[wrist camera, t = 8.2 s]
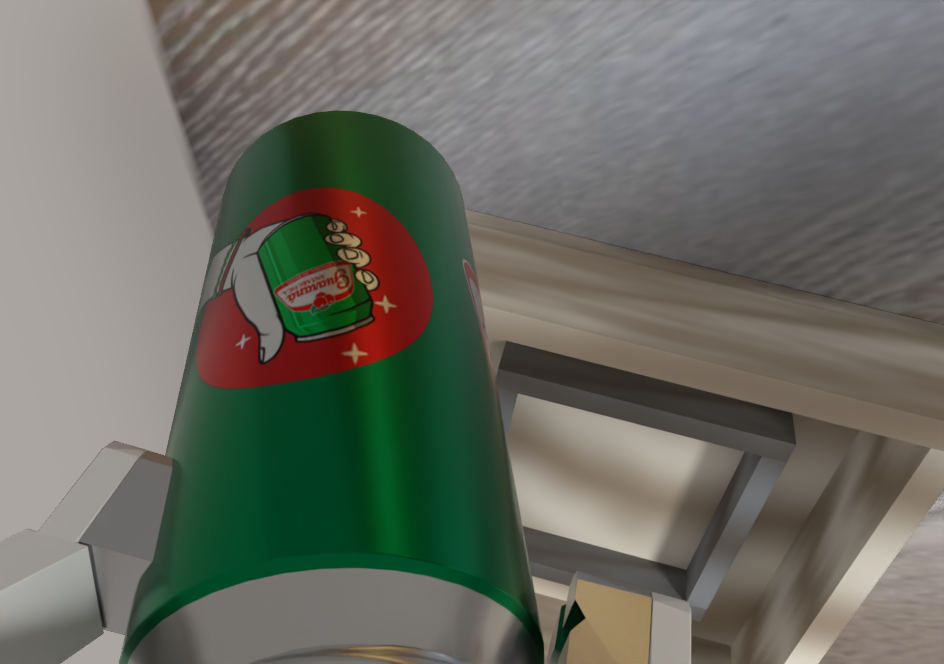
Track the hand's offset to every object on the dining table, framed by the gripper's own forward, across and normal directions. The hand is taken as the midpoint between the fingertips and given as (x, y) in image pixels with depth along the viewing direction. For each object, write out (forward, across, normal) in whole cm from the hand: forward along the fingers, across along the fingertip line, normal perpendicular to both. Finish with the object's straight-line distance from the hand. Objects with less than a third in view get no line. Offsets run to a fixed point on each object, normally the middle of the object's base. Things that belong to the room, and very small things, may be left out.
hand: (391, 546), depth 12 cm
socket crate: (+22, -6, +19) cm, 30 cm away
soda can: (+9, +4, 0) cm, 9 cm away
